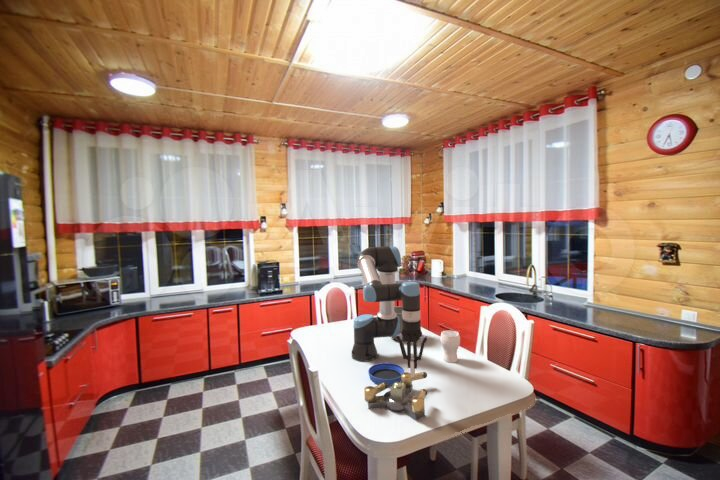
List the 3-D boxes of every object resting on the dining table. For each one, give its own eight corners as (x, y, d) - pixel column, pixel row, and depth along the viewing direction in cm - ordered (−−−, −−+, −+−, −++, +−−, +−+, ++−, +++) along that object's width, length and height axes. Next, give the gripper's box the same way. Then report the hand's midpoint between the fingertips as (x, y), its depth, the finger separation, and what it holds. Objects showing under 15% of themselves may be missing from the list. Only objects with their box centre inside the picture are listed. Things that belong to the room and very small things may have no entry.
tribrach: (363, 407, 132) (362, 387, 132) (382, 383, 152) (381, 365, 151) (422, 422, 122) (421, 400, 121) (434, 394, 141) (434, 375, 141)
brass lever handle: (422, 415, 121) (422, 404, 121) (410, 412, 124) (410, 401, 123) (430, 397, 133) (430, 387, 133) (419, 395, 135) (419, 385, 135)
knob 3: (370, 403, 130) (369, 393, 130) (362, 399, 134) (362, 389, 134) (391, 391, 139) (391, 382, 139) (383, 387, 143) (383, 378, 142)
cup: (461, 364, 170) (461, 337, 169) (441, 363, 172) (440, 336, 171) (459, 356, 180) (459, 330, 179) (440, 355, 182) (439, 329, 181)
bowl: (394, 390, 146) (394, 382, 146) (361, 380, 156) (361, 373, 155) (410, 374, 161) (410, 367, 161) (379, 366, 171) (379, 360, 171)
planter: (419, 335, 215) (418, 308, 214) (407, 345, 198) (406, 315, 197) (393, 331, 225) (392, 304, 224) (379, 340, 209) (379, 311, 208)
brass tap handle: (404, 387, 142) (404, 378, 142) (399, 382, 147) (399, 373, 147) (429, 382, 147) (429, 372, 146) (424, 377, 151) (423, 368, 151)
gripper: (394, 321, 129) (395, 378, 130) (426, 323, 125) (428, 381, 126) (397, 316, 136) (398, 370, 137) (427, 317, 132) (429, 372, 133)
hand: (412, 375), depth 131 cm, fingers closed
